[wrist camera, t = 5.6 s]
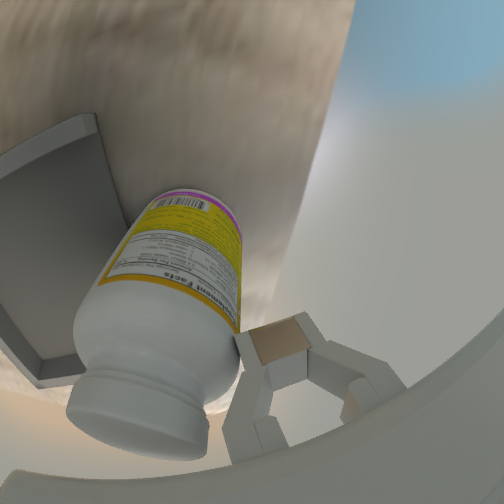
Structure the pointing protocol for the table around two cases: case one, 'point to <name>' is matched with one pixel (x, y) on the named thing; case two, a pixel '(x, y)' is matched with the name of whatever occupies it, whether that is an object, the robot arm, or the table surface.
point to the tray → (53, 244)
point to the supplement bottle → (161, 329)
